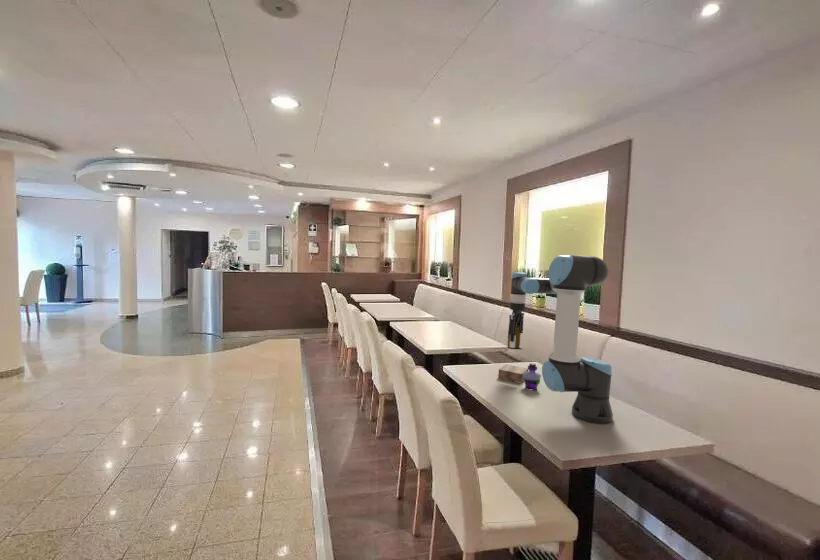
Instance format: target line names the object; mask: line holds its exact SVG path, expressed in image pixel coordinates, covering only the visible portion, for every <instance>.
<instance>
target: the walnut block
mask: <svg viewBox="0 0 820 560" xmlns="http://www.w3.org/2000/svg"><path fill="white" fill-rule="evenodd" d="M527 371H529V369H528V367H527V368H526V367H522V366H516V365H512V364H505V365H503V366H502V367H500V368H499V369H498V375H497V377H498V379H500V380H504V379H506V380H505V381H509V380H511V381H510V382H514V381H516V382H515V383H518V382H521V383H520V384H522V383H523V382H525V380H524V377H523V372H527Z"/></svg>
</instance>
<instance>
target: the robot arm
mask: <svg viewBox="0 0 820 560" xmlns="http://www.w3.org/2000/svg"><path fill="white" fill-rule="evenodd" d="M609 273H610V270H609V266H608V264H607V263H606V262H605V260H603V259H602V258H600V257H597V256H591V255H572V254H565V255H564V254H562V255H561V254H560V255H557V256H556V257H555V258H553V260H552V261H551V263H550V265H549V268H548V273H547V276H548V278H542V277H541V278H540V277H528V274H527V273H526V272H520V271H519V272H513V273H512V274H511V278H510V280H511V285H510V286H511V287H510V295H509V297H510V303H509V310H512V312H511V314H509V322H508V330H509V331H508V330H507V335H508V334H509V335H510V347H511V348H515V341H516V335H515V332H516V327H517V325H519V326H520V329H519V330H520V343H519V346H521V342H522V341H521V340H522V339H521V338H522V334H523V333H524V316H525V313H524V312H522V311H525V310H526V301H527V300H526V298H527V295H534V294H545V295H546V294H548V295H552V294H553V295H556V306H555V322H554V334H553V335H554V337H553V352H552V353H550V354H549V355H548V361H544V362H543V364H542V367H541V377H542V379H543V382H544V384H545V386H546V387H547V389H549V391H551V392H557V393H558V392H559V393H566V392H569V393H571V392H572V393H573V392H577V395H576V397H575V400H574V401H573V404H572V406H571V414H572V415H573V416H574V417H576V418H577V419H580V420H582V421H586V422H588V423H594V424H600V425H601V424H604V425H605V424H610V423H612V422H613V419H614V418H613V417H614V414H613V410H612V406H611V401H610V395H611V384H612V383H611V381H612V380H611V379H612V375H613V374H612V366H611V364H610V363H608V362H607V361H605V360H601V359H597V358H594V357H588V356H582V357H578V355H577V351H578V336H579V325H580V323H579V322H580V307H581V296H582V294H583V293H584V292H586V286H587V287H595V286H598V285H602V284H603V283H604V282H606V281H607V279H608V278H609Z"/></svg>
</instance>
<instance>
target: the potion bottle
mask: <svg viewBox="0 0 820 560" xmlns="http://www.w3.org/2000/svg"><path fill="white" fill-rule="evenodd" d="M527 368H528V371H527V372H523V377H524V385H525V387H526V388H528V389H527V390H529V389H534V390H533V391H536V390H537V389H538V386H539V384H540V383H541V378H542V374H541V373H539V372H537V370H538V366H537V365H536V363H533V362H532V363H529V364H528V365H527ZM526 388H525V389H526ZM535 389H536V390H535Z"/></svg>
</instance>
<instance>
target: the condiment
mask: <svg viewBox="0 0 820 560" xmlns="http://www.w3.org/2000/svg"><path fill="white" fill-rule="evenodd" d="M519 329H520V326H519V325H517V327H516V332H515V335H516V341H515V348H511V347H510V335H509V334H508V333H507V345H505V347H506V348H507V349H508V350H522V351H523V350H525V348H524V347H523V346H521V345H520V346H519V343H520V344H521V341H520V330H519ZM508 331H509V329H508V330H507V332H508Z"/></svg>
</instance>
